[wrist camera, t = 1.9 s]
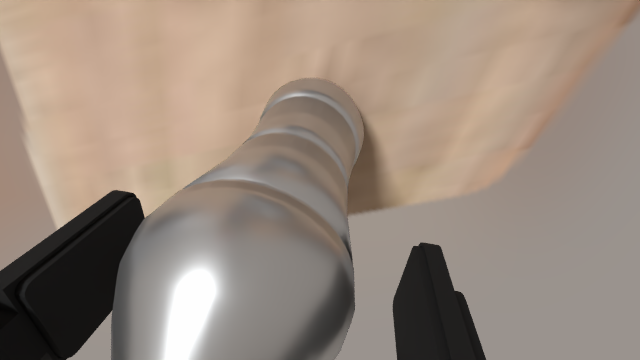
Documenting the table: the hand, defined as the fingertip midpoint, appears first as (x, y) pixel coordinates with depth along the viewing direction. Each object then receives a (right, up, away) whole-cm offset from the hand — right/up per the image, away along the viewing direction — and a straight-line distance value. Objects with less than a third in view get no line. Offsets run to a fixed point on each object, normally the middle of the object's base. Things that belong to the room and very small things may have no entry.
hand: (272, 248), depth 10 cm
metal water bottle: (+2, +7, +11) cm, 13 cm away
